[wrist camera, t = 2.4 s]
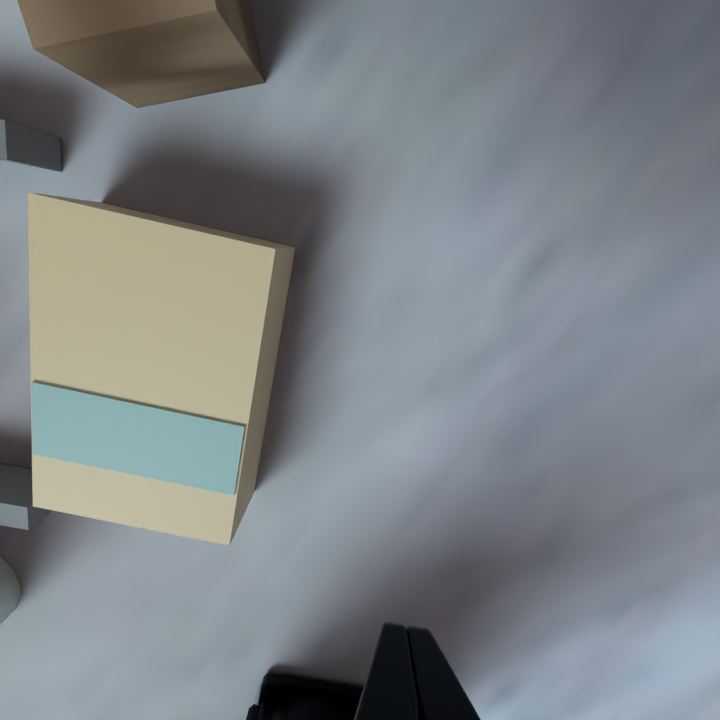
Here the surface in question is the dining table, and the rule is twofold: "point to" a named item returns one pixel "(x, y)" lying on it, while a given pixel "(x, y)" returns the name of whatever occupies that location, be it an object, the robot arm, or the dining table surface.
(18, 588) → the cylindrical block
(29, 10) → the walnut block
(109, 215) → the carton
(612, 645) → the dining table surface
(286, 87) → the dining table surface
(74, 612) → the dining table surface
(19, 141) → the frame
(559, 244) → the dining table surface
